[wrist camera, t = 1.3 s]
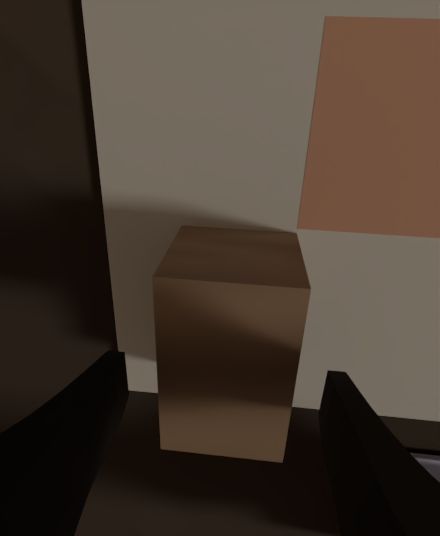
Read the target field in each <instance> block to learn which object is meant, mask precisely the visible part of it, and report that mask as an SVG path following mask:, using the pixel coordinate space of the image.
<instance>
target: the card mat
mask: <svg viewBox="0 0 440 536" xmlns="http://www.w3.org/2000/svg"><path fill="white" fill-rule="evenodd" d="M82 10H83V20H84V29H85V39H86V48H87V58H88V67H89V77H90V86H91V96H92V105H93V115H94V124H95V134H96V143H97V153H98V163H99V172H100V182H101V191H102V201H103V210H104V220H105V229H106V239H107V248H108V258H109V267H110V277H111V287H112V296H113V306H114V315H115V325H116V334H117V344H118V351H120V352H125V359H126V370H127V380H128V390H132V391H142V392H152V393H158V383H157V363H156V343H155V323H154V303H153V282H152V276H153V275H154V273H155V271H156V269H157V268H158V266H159V264H160V263H161V261H162V259H163V257H164V256H165V254H166V252H167V250H168V249H169V247H170V245H171V243H172V242H173V240H174V238H175V237H176V235H177V233H178V231H179V230H180V228H181V226H182V225H183V226H198V227H213V228H228V229H243V230H258V231H273V232H288V233H297V236H298V240H299V244H300V248H301V252H302V256H303V260H304V263H305V267H306V271H307V275H308V279H309V283H310V287H311V293H310V299H309V305H308V311H307V317H306V323H305V330H304V336H303V342H302V348H301V354H300V360H299V366H298V372H297V378H296V385H295V391H294V397H293V403H292V407H301V408H311V409H320V404H321V399H322V395H323V390H324V385H325V380H326V376H327V371H328V370H331V371H342V372H346V373H347V374H348V375H349V377H350V378H351V380H352V381H353V383H354V384H355V385H356V387H357V388H358V390H359V391H360V392H361V394H362V395H363V396H364V398H365V399H366V401H367V402H368V403H369V405H370V406H371V407H372V409H373V410H374V411H375V412H376V414H377V415H381V416H391V417H401V418H411V419H421V420H431V421H440V0H82Z"/></svg>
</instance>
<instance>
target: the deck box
mask: <svg viewBox="0 0 440 536" xmlns="http://www.w3.org/2000/svg"><path fill="white" fill-rule="evenodd" d="M152 282H153V303H154V323H155V343H156V363H157V383H158V404H159V424H160V444H161V449H164V450H173V451H182V452H191V453H200V454H209V455H218V456H227V457H236V458H245V459H254V460H263V461H272V462H281V463H283V458H284V452H285V446H286V440H287V433H288V427H289V421H290V415H291V409H292V403H293V397H294V391H295V385H296V378H297V372H298V366H299V360H300V354H301V348H302V342H303V336H304V330H305V323H306V317H307V311H308V305H309V299H310V293H311V287H310V283H309V279H308V275H307V271H306V267H305V263H304V260H303V256H302V252H301V248H300V244H299V240H298V236H297V233H288V232H273V231H258V230H243V229H228V228H213V227H198V226H183V225H182V226H181V228H180V230H179V231H178V233H177V235H176V237H175V238H174V240H173V242H172V243H171V245H170V247H169V249H168V250H167V252H166V254H165V256H164V257H163V259H162V261H161V263H160V264H159V266H158V268H157V269H156V271H155V273H154V275H153V276H152Z"/></svg>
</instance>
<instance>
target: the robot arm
mask: <svg viewBox="0 0 440 536" xmlns="http://www.w3.org/2000/svg"><path fill="white" fill-rule="evenodd" d="M128 396H129V390H128V380H127V370H126V359H125V352H120V351H109V350H108V351H107V352H106V353H105V354H104V355H102V356H101V357H100V358H99V359H98V360H97V361H96V362H94V363H93V364H92V365H91V366H90V367H89V368H88V369H87V370H85V371H84V372H83V373H82V374H81V375H80V376H79V377H77V378H76V379H75V380H74V381H73V382H71V383H70V384H69V385H68V386H67V387H65V388H64V389H63V390H62V391H61V392H59V393H58V394H57V395H56V396H54V397H53V398H52V399H50V400H49V401H48V402H46V403H45V404H44V405H43V406H41V407H40V408H39V409H37V410H36V411H34V412H33V413H32V414H30V415H29V416H27V417H26V418H24V419H23V420H21V421H20V422H18V423H17V424H15V425H14V426H12V427H10V428H9V429H7V430H5V431H4V432H2V433H0V536H74V535H75V532H76V528H77V525H78V522H79V520H80V517H81V514H82V511H83V508H84V505H85V502H86V499H87V497H88V494H89V491H90V489H91V487H92V484H93V482H94V479H95V477H96V475H97V473H98V471H99V468H100V466H101V464H102V462H103V460H104V457H105V455H106V453H107V451H108V449H109V446H110V444H111V442H112V440H113V437H114V435H115V433H116V431H117V428H118V426H119V424H120V422H121V419H122V416H123V412H124V409H125V406H126V403H127V399H128ZM319 423H320V432H321V441H322V446H323V451H324V455H325V460H326V464H327V469H328V473H329V477H330V482H331V486H332V491H333V495H334V499H335V504H336V508H337V513H338V519H339V524H340V531H341V536H440V456H437V455H427V454H418V453H409V452H408V450H407V449H406V448H405V447H404V446H403V445H402V444H401V443H400V442H399V440H398V439H397V438H396V437H395V436H394V435H393V433H392V432H391V431H390V430H389V429H388V427H387V426H386V425H385V424H384V423H383V421H382V420H381V419H380V417H379V416H378V415H377V414H376V412H375V411H374V410H373V409H372V407H371V406H370V405H369V403H368V402H367V401H366V399H365V398H364V396H363V395H362V394H361V392H360V391H359V390H358V388H357V387H356V385H355V384H354V383H353V381H352V380H351V378H350V377H349V375H348V374H347V373H346V372H342V371H331V370H328V371H327V376H326V380H325V385H324V390H323V395H322V399H321V404H320V409H319Z"/></svg>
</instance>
